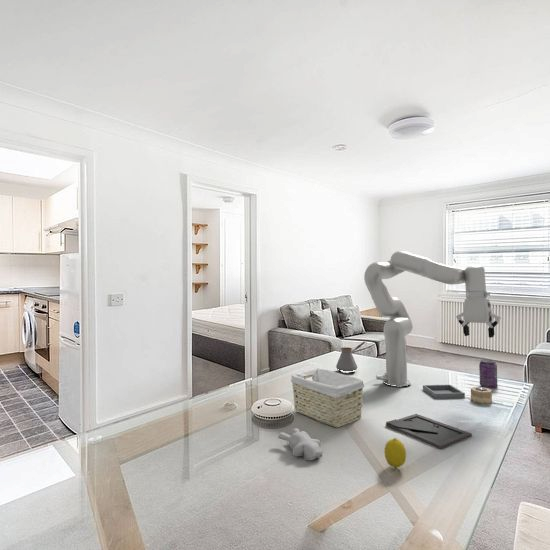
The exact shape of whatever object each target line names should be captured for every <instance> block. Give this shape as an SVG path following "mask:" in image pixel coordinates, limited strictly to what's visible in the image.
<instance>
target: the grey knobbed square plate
mask: <svg viewBox="0 0 550 550" xmlns="http://www.w3.org/2000/svg"><path fill="white" fill-rule="evenodd" d="M476 387H477V390H479V391H485V388H486V387H483V386H476ZM482 387H483V388H482ZM467 400H470V401H471V402H473V403H475V404H476V405H497V404H498V403H497V402H495V401H494V400H492V402H491V403H485V404H483V403H478V402H474V401H472V400H471V397H467Z"/></svg>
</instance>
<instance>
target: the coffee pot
mask: <svg viewBox="0 0 550 550" xmlns="http://www.w3.org/2000/svg"><path fill="white" fill-rule="evenodd" d="M367 344H368V343H367V342H366V341H363V342H361V343H360V344H359V345H357V346H356V347H355V348H354V349H353V348H352V347H345V346H344V347H340V351H341V352H340V354H339V355H340V356H339V359H338V361H337V362H336V365H335V367H336V369H337V370H338V369H339V370H343V371H353V370H356V371H357V369H358V364H357V363H356V360H355V358H354V356H353V353H354V352H355V351H356V350H358V349H359V348H361V347H362V346H363V345H367ZM339 370H338V371H339Z"/></svg>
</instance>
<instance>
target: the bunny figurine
mask: <svg viewBox="0 0 550 550" xmlns="http://www.w3.org/2000/svg"><path fill="white" fill-rule="evenodd" d="M277 438H278V439H279V440H283V441H286V442H288V445H289V448H290V450H291V451H292V456H294V457H302V458H303V459H304V460H305V461H307V462H308V461H315V460H316V459H320V458H322V457H323V451H322V450H321V444H322V442H321V440H320V439H316V438H311V437H310V435H309V434H308V432H306V431H304V430H303V431H300V429H299V428H297V427H296V428H293V429H292V434H288V433H286V432H283V431H282V432H279V433H278V435H277Z"/></svg>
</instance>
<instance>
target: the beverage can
mask: <svg viewBox="0 0 550 550" xmlns="http://www.w3.org/2000/svg"><path fill="white" fill-rule="evenodd" d="M479 361H480V362H479V367H478V369H479V370H478V371H479V385H480V387H483V388H488V389H490V388H492V389H494V388H498V365H497V362H496V360H493V359H487V358H486V359H480V360H479Z"/></svg>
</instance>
